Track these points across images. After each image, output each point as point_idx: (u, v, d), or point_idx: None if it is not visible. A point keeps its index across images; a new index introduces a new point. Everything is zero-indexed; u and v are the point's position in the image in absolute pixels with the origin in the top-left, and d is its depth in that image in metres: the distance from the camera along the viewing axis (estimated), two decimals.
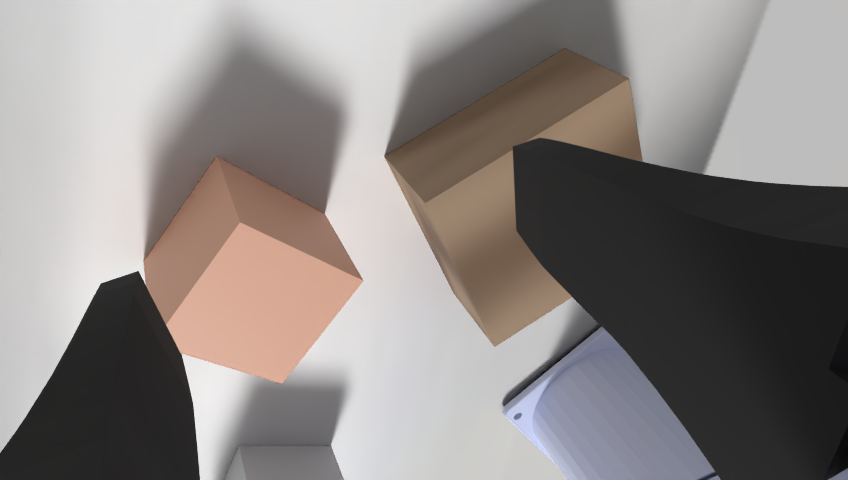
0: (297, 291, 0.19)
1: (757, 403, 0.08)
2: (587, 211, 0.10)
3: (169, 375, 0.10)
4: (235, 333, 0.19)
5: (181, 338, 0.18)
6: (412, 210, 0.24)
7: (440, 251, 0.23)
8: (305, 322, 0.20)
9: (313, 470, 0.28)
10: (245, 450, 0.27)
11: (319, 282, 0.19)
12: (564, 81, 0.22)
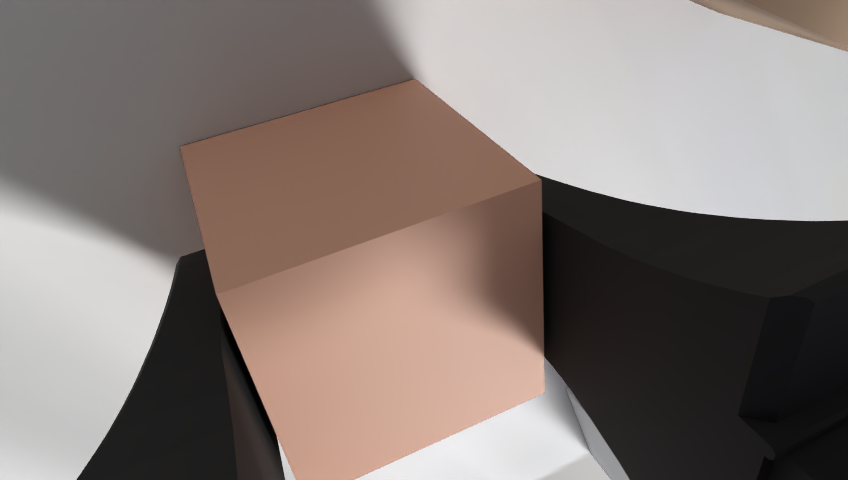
0: (438, 289, 0.09)
1: (678, 443, 0.08)
2: None
3: None
4: (407, 405, 0.10)
5: (335, 468, 0.10)
6: None
7: None
8: (501, 311, 0.10)
9: None
10: None
11: (462, 247, 0.09)
12: None
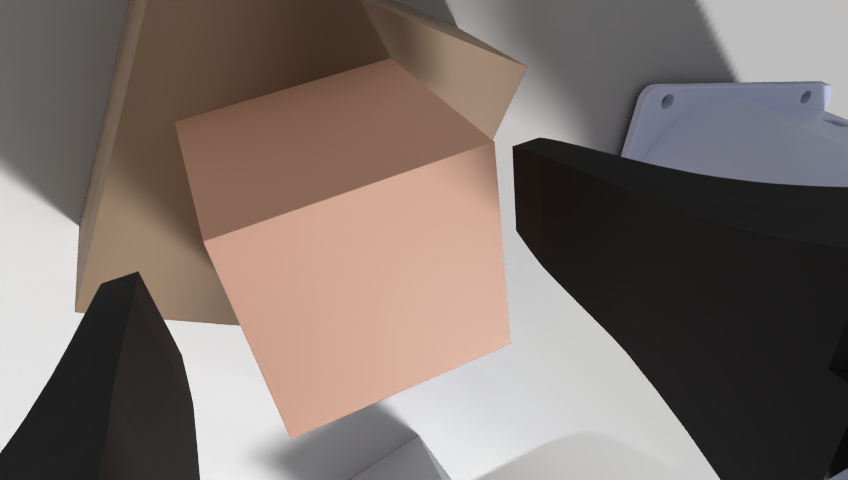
0: (403, 241, 0.10)
1: (757, 403, 0.08)
2: (587, 211, 0.10)
3: (169, 375, 0.10)
4: (381, 350, 0.11)
5: (317, 408, 0.11)
6: None
7: None
8: (464, 264, 0.11)
9: None
10: None
11: (424, 203, 0.10)
12: None
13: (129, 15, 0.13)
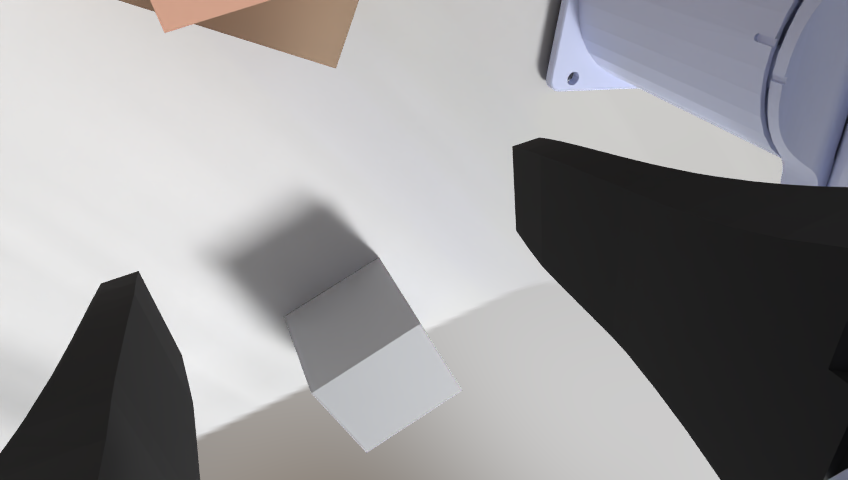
0: None
1: (757, 404, 0.08)
2: (587, 211, 0.10)
3: (169, 375, 0.10)
4: None
5: None
6: None
7: None
8: None
9: (362, 295, 0.24)
10: (291, 317, 0.25)
11: None
12: None
13: None
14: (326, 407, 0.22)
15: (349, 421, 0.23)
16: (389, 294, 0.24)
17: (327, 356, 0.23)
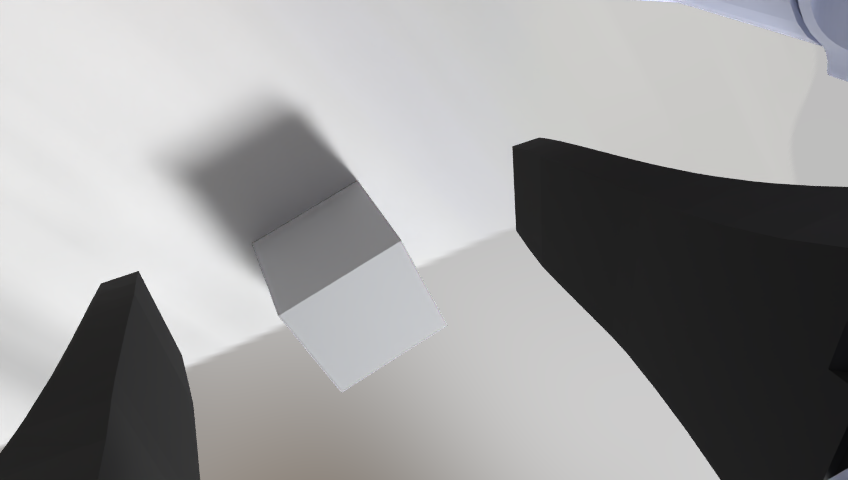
0: None
1: (756, 403, 0.08)
2: (587, 211, 0.10)
3: (169, 375, 0.10)
4: None
5: None
6: None
7: None
8: None
9: (338, 217, 0.22)
10: (260, 243, 0.23)
11: None
12: None
13: None
14: (295, 334, 0.20)
15: (322, 353, 0.21)
16: (368, 214, 0.21)
17: (297, 278, 0.20)
